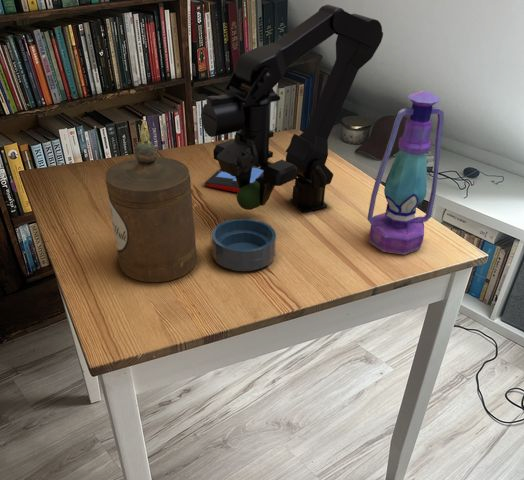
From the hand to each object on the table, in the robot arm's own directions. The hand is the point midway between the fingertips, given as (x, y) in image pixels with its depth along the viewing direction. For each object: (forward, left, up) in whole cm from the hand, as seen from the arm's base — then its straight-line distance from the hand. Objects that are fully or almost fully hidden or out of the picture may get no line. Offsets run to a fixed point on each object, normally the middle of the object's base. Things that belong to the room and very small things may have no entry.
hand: (253, 200), depth 119 cm
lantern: (-23, +20, -5) cm, 31 cm away
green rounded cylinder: (0, 0, -1) cm, 1 cm away
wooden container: (+24, +7, -5) cm, 25 cm away
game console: (-6, -20, -5) cm, 21 cm away
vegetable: (+19, -12, -5) cm, 23 cm away
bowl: (+8, +12, -5) cm, 15 cm away
